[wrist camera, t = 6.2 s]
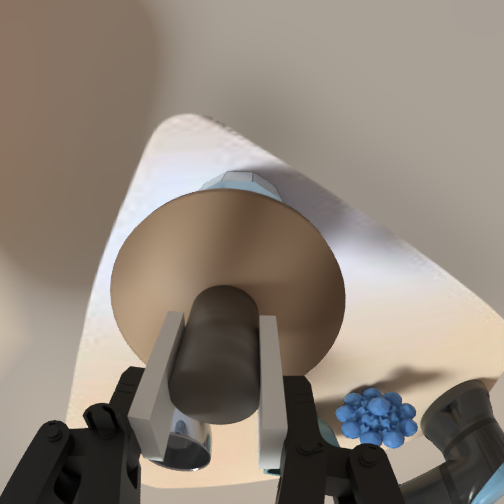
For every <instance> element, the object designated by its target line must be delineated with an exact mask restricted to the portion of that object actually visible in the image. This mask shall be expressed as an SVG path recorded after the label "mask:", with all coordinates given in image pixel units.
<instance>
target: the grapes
mask: <svg viewBox="0 0 504 504" xmlns="http://www.w3.org/2000/svg"><path fill="white" fill-rule="evenodd" d="M344 402H345V405H343V406H340V407H339V408H337V409H336V413H335V414H336V416H337V419H338V420H339V421H341V422H344V423H343V424H342V427H341V430H342V433H343V435H344V436H346V437H347V438H351V439H355V438H358V437H360V442H361V444H363V443H372V444H375V445H378V446H380V445H382V441H383V443H384V445H386V446H387V447H390V448H398V447H400V446H401V445H402V444H403V443H404V440H405V438H404V436H407V437H409V436H412V435H414V434H415V433H416V432H417V428H418V426H417V424H416V422H414V421H413V420H412V419H413V418H414V417H415V416H416V410H415V408H414V407H413V406H412V405H411V404H408V403H403V404H402V398H401V396H400V395H399V394H398V393H396V392H387V393H385V394H384V395H383V396H382V394H381V392H380V391H379V390H377V389H376V388H368V389H365V390H364V391H363V392H362V396H361V395H360V394H358V393H350V394H347V395H346V396H345V398H344Z"/></svg>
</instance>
